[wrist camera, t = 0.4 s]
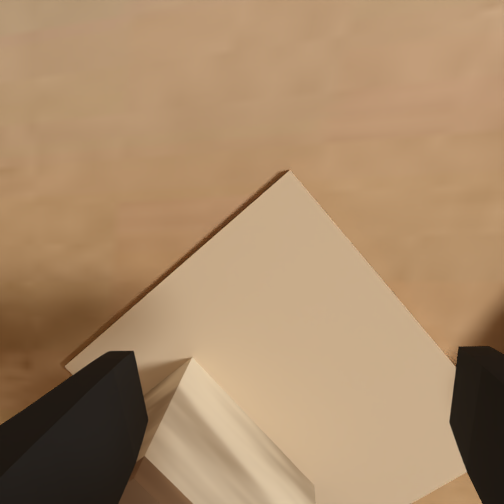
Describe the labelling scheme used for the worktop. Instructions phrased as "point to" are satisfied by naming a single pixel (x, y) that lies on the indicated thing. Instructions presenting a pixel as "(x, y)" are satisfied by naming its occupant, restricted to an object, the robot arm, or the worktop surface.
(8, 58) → the worktop surface
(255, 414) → the beige square board
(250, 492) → the maple block
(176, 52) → the worktop surface
